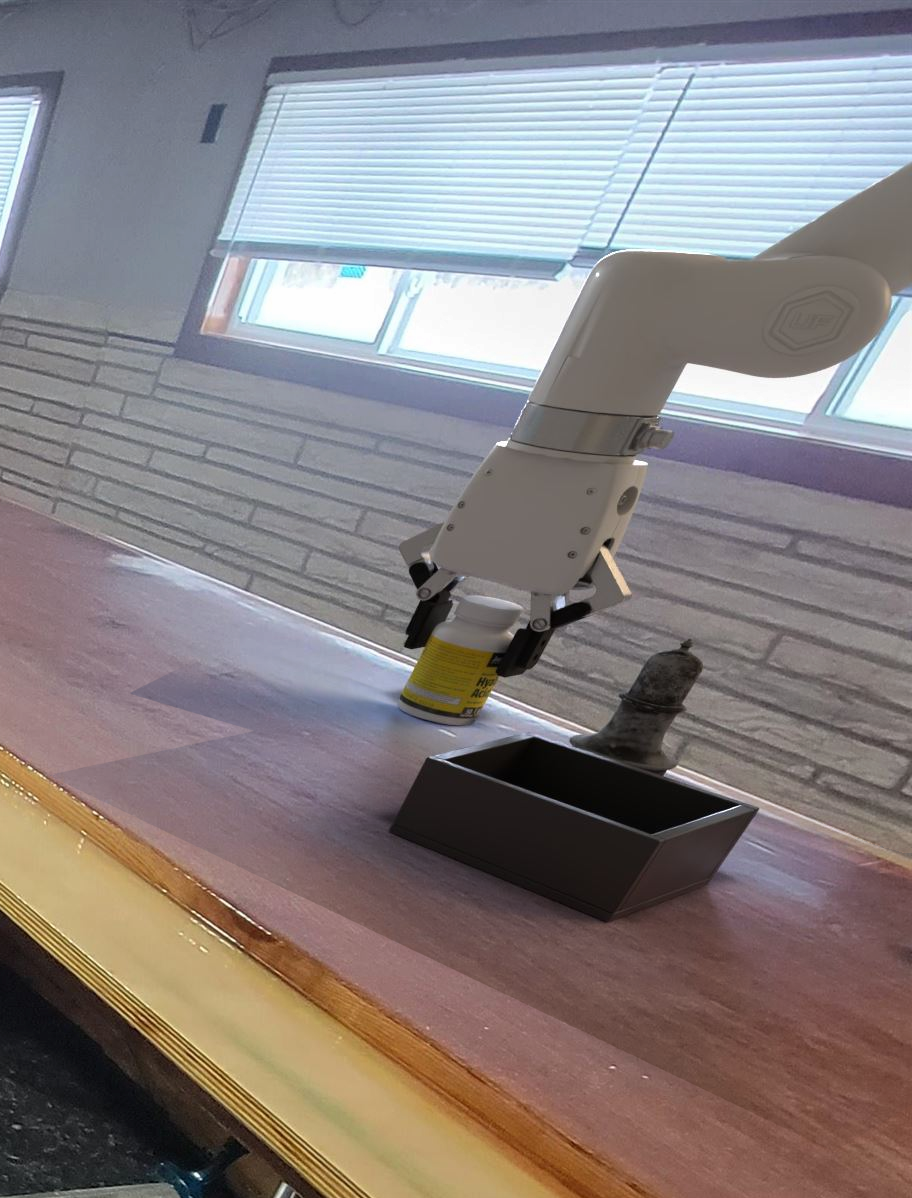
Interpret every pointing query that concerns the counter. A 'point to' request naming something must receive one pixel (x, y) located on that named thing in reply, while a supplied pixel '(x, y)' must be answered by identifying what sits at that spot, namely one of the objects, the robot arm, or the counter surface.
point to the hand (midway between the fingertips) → (463, 658)
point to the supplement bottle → (461, 662)
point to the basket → (571, 823)
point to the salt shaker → (647, 712)
